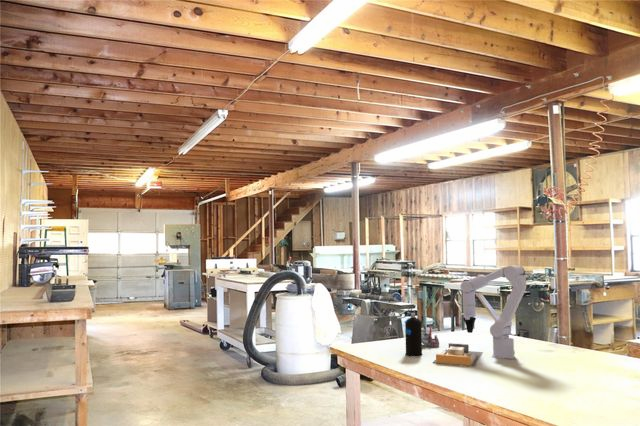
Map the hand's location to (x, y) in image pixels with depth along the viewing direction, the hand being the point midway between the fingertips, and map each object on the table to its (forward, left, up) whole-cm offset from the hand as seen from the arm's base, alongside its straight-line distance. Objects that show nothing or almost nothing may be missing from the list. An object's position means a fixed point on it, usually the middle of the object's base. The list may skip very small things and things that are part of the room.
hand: (470, 332), depth 248 cm
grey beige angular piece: (+3, +21, -9) cm, 23 cm away
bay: (+3, +16, -9) cm, 19 cm away
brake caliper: (+22, -6, -10) cm, 25 cm away
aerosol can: (+24, +18, -10) cm, 31 cm away
